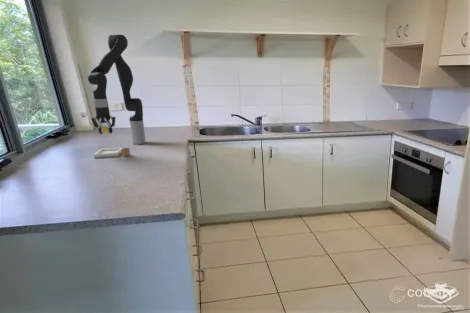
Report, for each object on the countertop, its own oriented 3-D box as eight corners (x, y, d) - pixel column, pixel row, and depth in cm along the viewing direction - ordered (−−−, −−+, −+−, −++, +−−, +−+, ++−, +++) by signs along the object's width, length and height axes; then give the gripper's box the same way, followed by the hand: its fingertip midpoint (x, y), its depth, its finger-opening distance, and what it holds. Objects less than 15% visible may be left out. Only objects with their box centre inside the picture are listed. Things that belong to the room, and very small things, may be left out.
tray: (101, 152, 184) (101, 148, 184) (123, 151, 186) (123, 147, 185) (94, 158, 171) (93, 154, 170) (117, 156, 173) (117, 152, 172)
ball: (103, 133, 177) (102, 125, 175) (111, 133, 177) (110, 125, 176) (100, 135, 172) (99, 127, 171) (109, 134, 172) (107, 126, 171)
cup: (123, 155, 176) (122, 148, 175) (131, 154, 177) (130, 147, 175) (121, 157, 172) (120, 149, 170) (129, 156, 172) (128, 149, 171)
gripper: (115, 105, 174) (119, 131, 179) (91, 106, 173) (96, 133, 177) (112, 106, 167) (116, 134, 172) (87, 107, 165) (92, 135, 170)
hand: (106, 133), depth 175 cm, fingers closed on ball, 5 cm apart
